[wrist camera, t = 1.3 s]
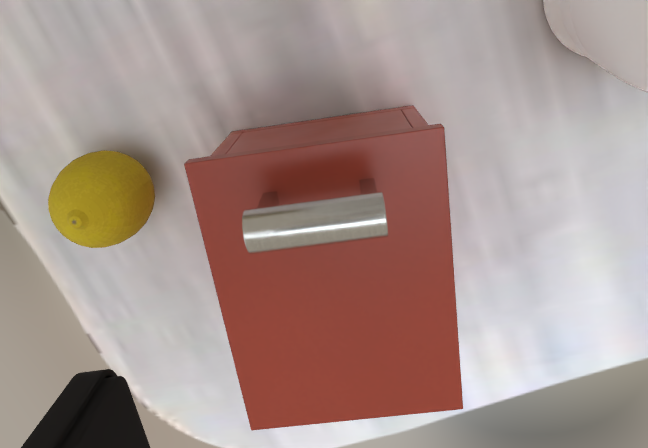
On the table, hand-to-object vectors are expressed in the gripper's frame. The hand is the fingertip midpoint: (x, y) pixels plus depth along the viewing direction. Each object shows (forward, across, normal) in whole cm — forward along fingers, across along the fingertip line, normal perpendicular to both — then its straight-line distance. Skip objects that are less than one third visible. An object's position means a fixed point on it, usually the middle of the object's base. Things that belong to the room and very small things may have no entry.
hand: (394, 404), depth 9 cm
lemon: (+27, +16, +1) cm, 31 cm away
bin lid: (+17, +2, +7) cm, 18 cm away
